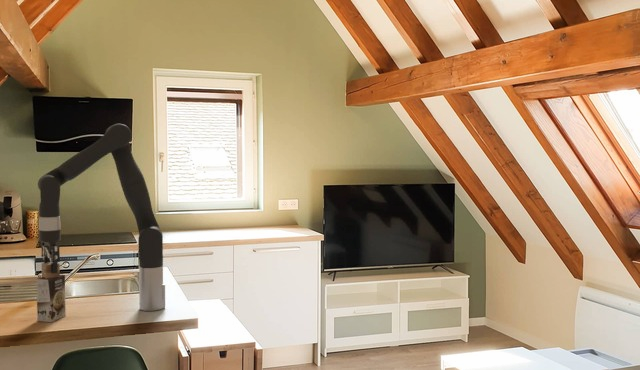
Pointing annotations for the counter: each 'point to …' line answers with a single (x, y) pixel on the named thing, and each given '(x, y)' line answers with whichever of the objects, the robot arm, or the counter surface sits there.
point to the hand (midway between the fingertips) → (50, 271)
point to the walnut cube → (49, 271)
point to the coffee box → (50, 298)
